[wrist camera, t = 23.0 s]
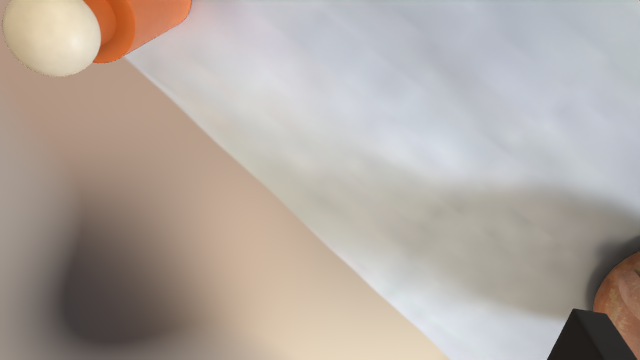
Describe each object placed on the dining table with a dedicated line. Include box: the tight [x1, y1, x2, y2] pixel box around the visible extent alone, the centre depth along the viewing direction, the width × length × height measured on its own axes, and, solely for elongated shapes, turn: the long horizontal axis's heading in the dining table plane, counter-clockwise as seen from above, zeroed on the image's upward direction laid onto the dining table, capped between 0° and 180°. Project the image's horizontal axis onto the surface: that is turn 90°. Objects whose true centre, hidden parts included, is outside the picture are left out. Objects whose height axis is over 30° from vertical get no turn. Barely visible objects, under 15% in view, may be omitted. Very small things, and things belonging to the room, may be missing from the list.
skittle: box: [2, 0, 192, 77], centre depth 31 cm, size 5×5×18 cm
